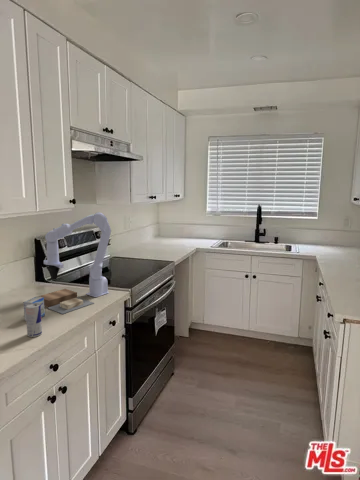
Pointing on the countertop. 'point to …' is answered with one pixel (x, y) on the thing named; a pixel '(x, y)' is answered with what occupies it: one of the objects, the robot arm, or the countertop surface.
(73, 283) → the countertop surface
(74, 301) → the birch tile
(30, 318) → the energy drink
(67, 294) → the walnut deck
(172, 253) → the countertop surface
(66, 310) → the slate mat
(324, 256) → the countertop surface
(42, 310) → the medicine box
